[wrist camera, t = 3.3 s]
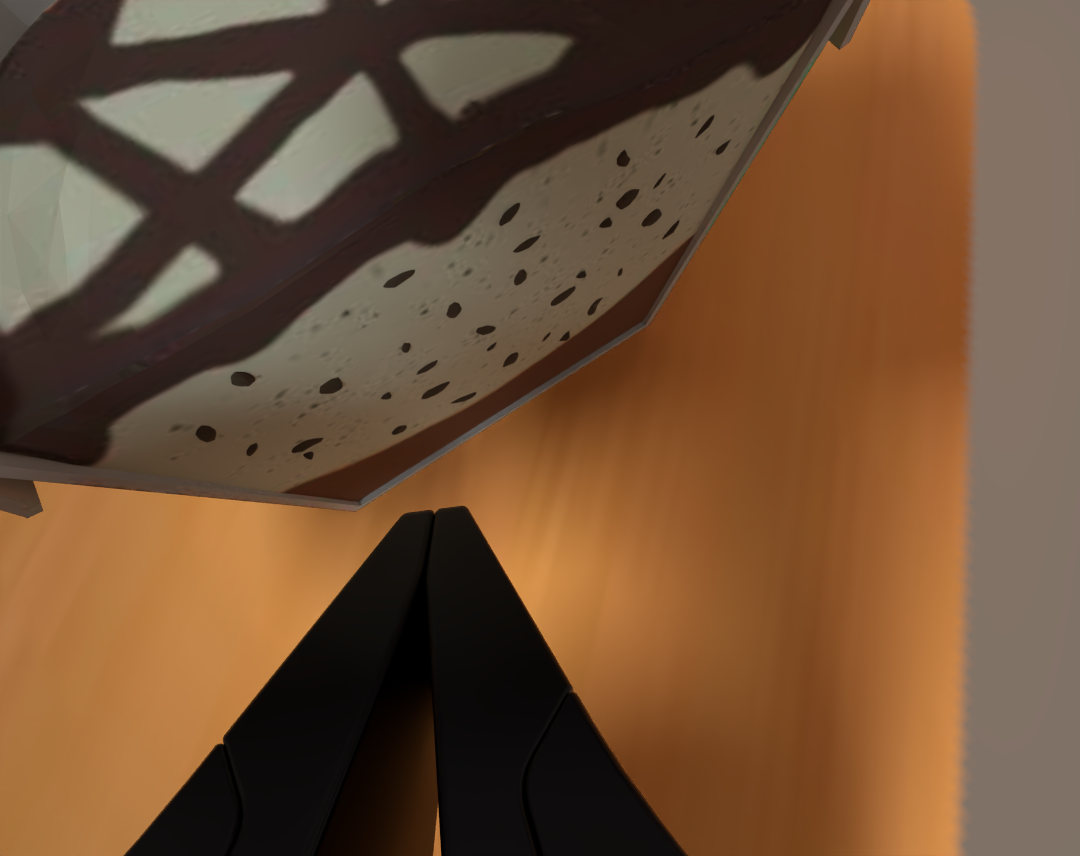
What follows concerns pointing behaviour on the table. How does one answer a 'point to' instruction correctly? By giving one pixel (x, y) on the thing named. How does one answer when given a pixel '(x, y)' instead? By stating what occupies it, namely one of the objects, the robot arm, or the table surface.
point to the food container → (349, 221)
